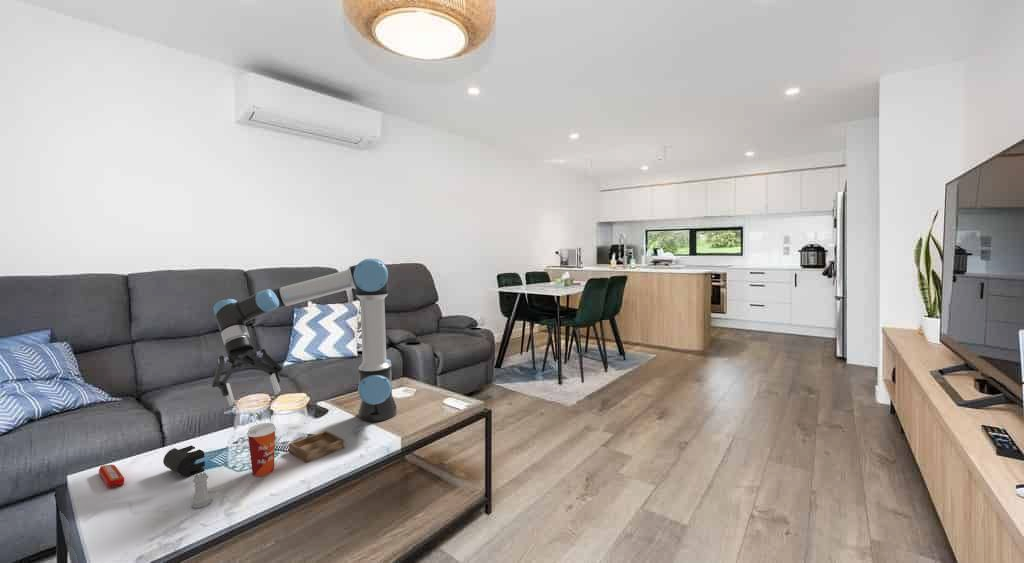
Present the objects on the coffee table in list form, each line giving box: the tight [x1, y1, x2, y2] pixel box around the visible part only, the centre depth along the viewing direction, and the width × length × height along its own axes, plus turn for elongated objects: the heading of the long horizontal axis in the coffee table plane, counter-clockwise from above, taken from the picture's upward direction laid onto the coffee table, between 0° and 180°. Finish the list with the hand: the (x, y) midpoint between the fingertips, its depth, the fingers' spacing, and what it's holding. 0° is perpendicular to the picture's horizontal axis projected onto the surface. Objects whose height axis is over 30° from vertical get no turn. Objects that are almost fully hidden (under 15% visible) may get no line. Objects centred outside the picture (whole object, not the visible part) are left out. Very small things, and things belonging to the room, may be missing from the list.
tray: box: [288, 430, 345, 464], centre depth 140 cm, size 13×12×3 cm
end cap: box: [162, 445, 206, 478], centre depth 126 cm, size 10×7×7 cm
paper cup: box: [246, 422, 277, 478], centre depth 126 cm, size 8×8×14 cm
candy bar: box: [98, 464, 125, 488], centre depth 123 cm, size 16×4×3 cm, turn 53°
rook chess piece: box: [190, 472, 213, 509], centre depth 110 cm, size 4×4×8 cm
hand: (256, 398), depth 133 cm, fingers open, 13 cm apart
